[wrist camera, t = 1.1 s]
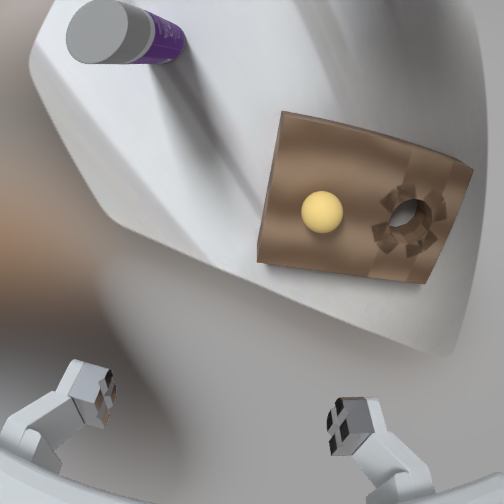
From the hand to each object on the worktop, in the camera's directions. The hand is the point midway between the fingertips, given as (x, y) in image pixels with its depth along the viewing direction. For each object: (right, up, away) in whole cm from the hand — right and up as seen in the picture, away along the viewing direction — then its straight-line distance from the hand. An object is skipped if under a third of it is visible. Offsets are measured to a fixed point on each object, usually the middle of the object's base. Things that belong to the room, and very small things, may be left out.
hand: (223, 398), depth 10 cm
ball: (+8, +9, +20) cm, 23 cm away
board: (+14, +11, +25) cm, 31 cm away
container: (-8, +26, +16) cm, 32 cm away
